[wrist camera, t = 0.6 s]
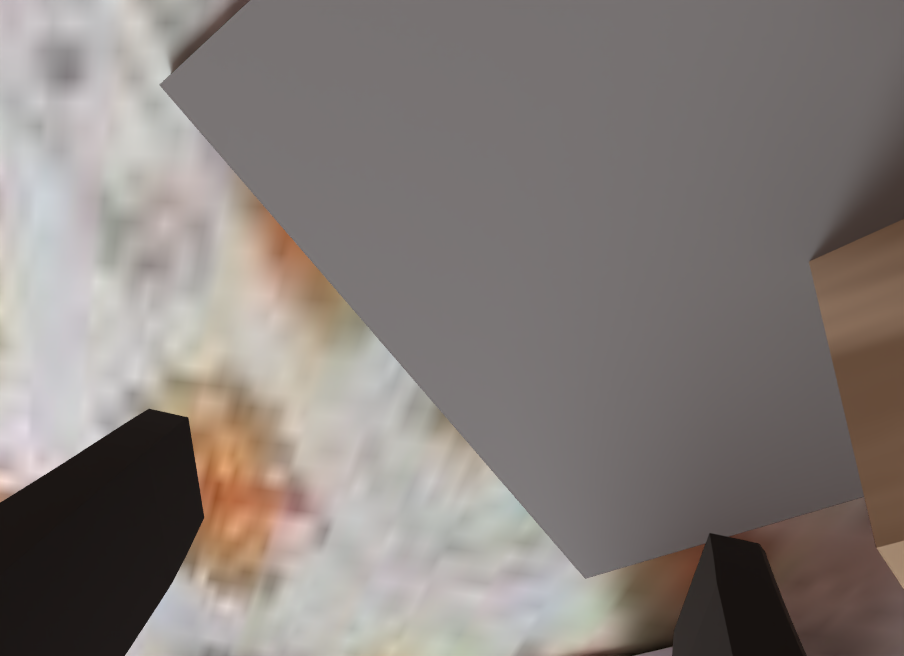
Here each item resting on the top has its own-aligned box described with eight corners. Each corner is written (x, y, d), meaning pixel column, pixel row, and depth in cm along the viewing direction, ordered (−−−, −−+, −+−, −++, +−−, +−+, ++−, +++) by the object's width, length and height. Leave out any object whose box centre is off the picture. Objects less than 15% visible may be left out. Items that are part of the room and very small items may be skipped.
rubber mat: (1667, 238, 14) (1695, 252, 14) (586, 565, 25) (585, 578, 25) (1469, -1131, 8) (1508, -1174, 8) (170, 78, 19) (159, 84, 19)
